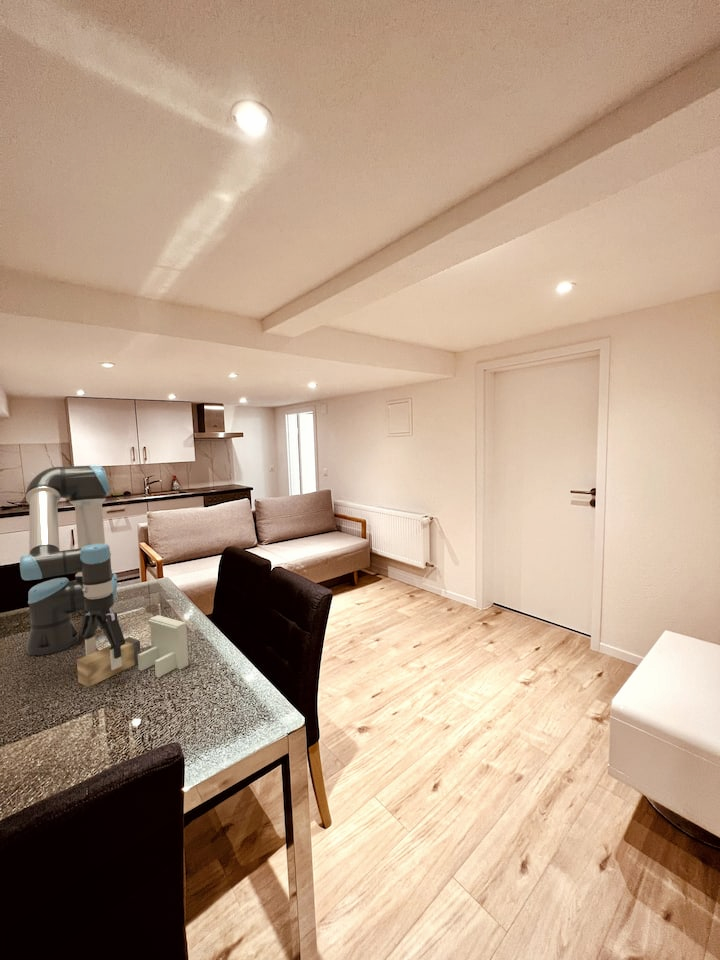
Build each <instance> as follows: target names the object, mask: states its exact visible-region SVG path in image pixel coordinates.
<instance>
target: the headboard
mask: <svg viewBox="0 0 720 960" xmlns="http://www.w3.org/2000/svg"><path fill="white" fill-rule="evenodd" d="M147 625H149V629H150V643H151V646H150V647H151V648H149V649H146V650H144V651H142V652H141V653H140V654H138V664H137V665H138V671H141V672H143V671H144V670H147V669H148V668H151V667H152V666H154V673H155V677H156V678H160V677H162V676H165V675H166V674H168V673H170V672H172V671H173V670H174V671H175V669H177V670H183V669H185V668H186V667H188V666H189V653H188V652H189V651H188V633H187V623H186V622H185V621H182V620H181V621H180V620H179V619H173V618H170V617H168V616H163V615H160V614H157V615H155V616H152V617H150V618H149V619H148V620H147Z"/></svg>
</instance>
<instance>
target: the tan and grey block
mask: <svg viewBox="0 0 720 960" xmlns="http://www.w3.org/2000/svg"><path fill="white" fill-rule="evenodd" d="M124 640H125V644H124V645H122V646H121V661H122V666H121V667H119V668H116V669H114V670H111V658H110V647H111V645H108V646H107V647H104V648H102V649H100V650H96V652H94V653H92V654H90V655H87V656H86V655H85V656H83V657H80V658H78V659H76V668H77V680H78V681H77V682H78V683H79V684H81V685H83V686H85V687H87V688H90V687H92V686H95V685H96V684H98V683H101V682H103V681H104V680H106V679H108V678H111V677H112V676H114V675H117V674H119V673H120V672H124V670H127V669H129V668H132V667H133V666H135V665H138V654H140V653H142V652H141V640H139V639H136V638H134V637H130V636H128V637H125V638H124Z"/></svg>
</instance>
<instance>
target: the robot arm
mask: <svg viewBox="0 0 720 960" xmlns="http://www.w3.org/2000/svg"><path fill="white" fill-rule="evenodd" d="M110 489H111V488H110V484H109V480H108V475H107V473H106V470H105V468H104V467H103V466H101V465H76V466H75V465H73V466H54V467H50V468H47V469H45V470H43V471H41V472H40V473H38V474H37V475H35V477H33V478H32V480H31V481H30V482H29V484H28V486H27V488H26V492H25V501H26V503H28V504H29V531H28V533H29V538H28V539H29V540H28V541H29V542H28V547H29V548H28V549H29V550H28V551H29V552H28V553H29V554H27V555H26V554H25V555H22V556H21V557H20V559H19V571H20V577H21V579H22V581H23V580H24V581H33V580H34V581H35V580H42V579H45V578H46V579H48V578H52V577H57V578H52V579H49V580H45V581H43V582H40V583H37V584H36V585H34V586H32V587H31V588H30V589H29V591H28V592H27V593H28V595H27V596H28V597H27V598H28V601H27V604H28V607H29V608H28V609H29V619H30V620H29V621H30V622H29V623H30V631H29V634H28V637H27V641H26V643H25V644H26V645H25V653H26V654H27V655H29V656H34V655H37V656H45V655H46V656H47V655H51V654H55V653H58V652H61V651H64V650H66V649H68V648H71V647H73V646H74V645H75V644H77V643H78V641H79V640H80V637H82V638H83V639H84V647H85V649H84V650H85V656H87V655H90V654H92V653H94V652H97V643H96V636H95V635H96V633H95V632H96V630H97V628H98V627H99V628H100V630H102V631H103V633H104V635H105V636H106V639H107V641H108V643H109V646H111V647H110V658H111V670H114V669H116V668H119V667H121V666H122V661H121V646H122V645H124V644H125V640H124V639H125V636H124V634H123V631H122V628H121V625H120V622H119V620H118V614H117V612H113V613H111V610H110V608H112V607H113V606H114V604H115V602H116V599H117V598H116V597H117V588H118V575H117V573H115V572H114V573H113V569H112V561H111V559H112V557H111V556H112V553H111V549H110V545H109V544H107V543H106V539H105V538H106V537H105V525H104V516H103V512H104V511H103V504H104V502H105V501H106V500H107V496H109V495H110V493H111V490H110ZM66 498H69V503H70V504H71V505H73V506H74V509H75V511H74V513H75V525H76V537H77V539H76V540H77V548H73V549H65V550H61V549H60V534H59V533H60V531H59V530H60V529H59V517H58V516H59V514H58V513H59V512H58V503H59V502H60V500H61V499H66ZM71 574H75V577H74V578H75V579H74V580H69V579H68V578H67V577H58V576H64V575H65V576H66V575H71ZM79 612H80V613H81V612H83V616H82V620H81V626H80V630H79V632H78V629H77V628H76V626H75V624H74V622H73V621H72V614H75V613H79ZM79 636H80V637H79ZM44 654H45V655H44Z"/></svg>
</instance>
